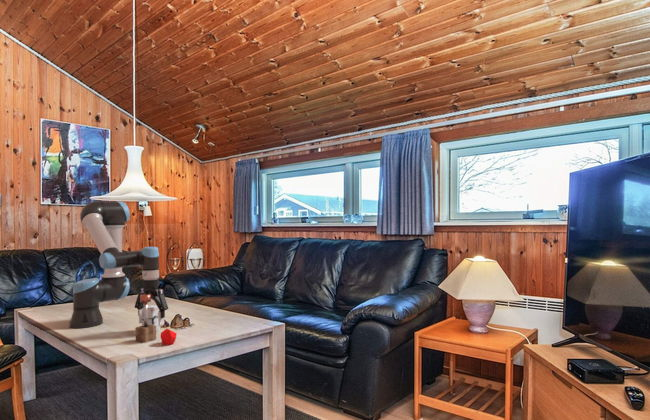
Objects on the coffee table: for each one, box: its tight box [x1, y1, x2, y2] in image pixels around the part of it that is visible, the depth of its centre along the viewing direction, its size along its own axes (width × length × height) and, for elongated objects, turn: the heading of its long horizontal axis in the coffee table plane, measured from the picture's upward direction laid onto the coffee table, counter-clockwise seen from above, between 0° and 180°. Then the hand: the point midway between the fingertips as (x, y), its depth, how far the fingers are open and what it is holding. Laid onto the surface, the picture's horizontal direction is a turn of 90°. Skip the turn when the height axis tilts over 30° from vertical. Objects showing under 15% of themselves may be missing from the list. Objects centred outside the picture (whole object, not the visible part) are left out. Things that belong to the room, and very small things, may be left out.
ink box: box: [141, 304, 162, 332], centre depth 200 cm, size 8×5×12 cm, turn 168°
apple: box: [160, 328, 178, 346], centre depth 179 cm, size 7×7×8 cm
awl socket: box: [134, 325, 157, 343], centre depth 184 cm, size 6×6×6 cm
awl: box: [140, 294, 152, 327], centre depth 185 cm, size 4×4×15 cm
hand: (151, 323), depth 200 cm, fingers open, 12 cm apart
